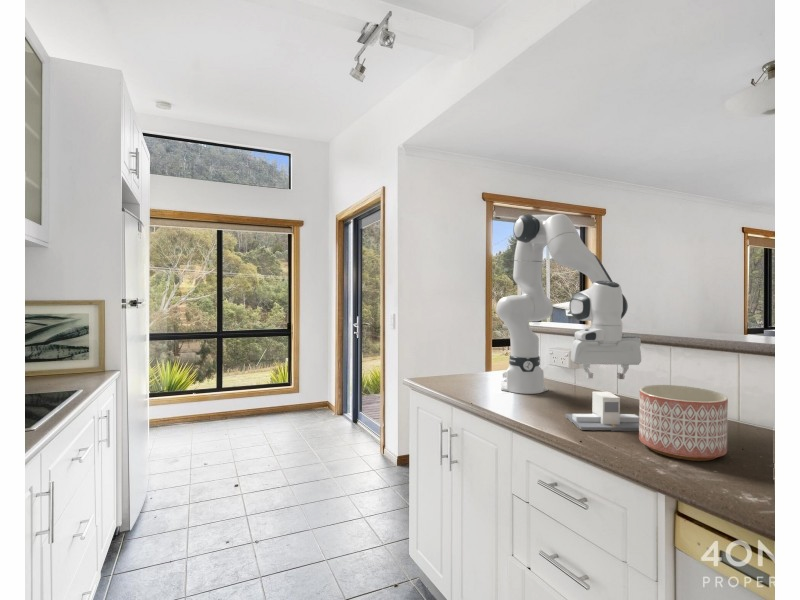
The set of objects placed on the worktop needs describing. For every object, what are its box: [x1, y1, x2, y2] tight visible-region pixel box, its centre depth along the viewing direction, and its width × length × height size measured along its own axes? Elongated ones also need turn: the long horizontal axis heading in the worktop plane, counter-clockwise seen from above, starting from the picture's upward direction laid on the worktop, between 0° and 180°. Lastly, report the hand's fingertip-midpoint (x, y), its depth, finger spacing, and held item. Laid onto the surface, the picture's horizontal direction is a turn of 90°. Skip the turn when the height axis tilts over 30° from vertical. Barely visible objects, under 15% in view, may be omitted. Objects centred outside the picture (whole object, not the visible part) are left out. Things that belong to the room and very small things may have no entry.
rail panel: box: [564, 413, 639, 432], centre depth 138 cm, size 14×20×2 cm
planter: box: [638, 384, 729, 462], centre depth 116 cm, size 19×19×15 cm
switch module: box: [591, 391, 621, 424], centre depth 138 cm, size 8×5×8 cm, turn 178°
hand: (605, 378), depth 138 cm, fingers open, 8 cm apart
